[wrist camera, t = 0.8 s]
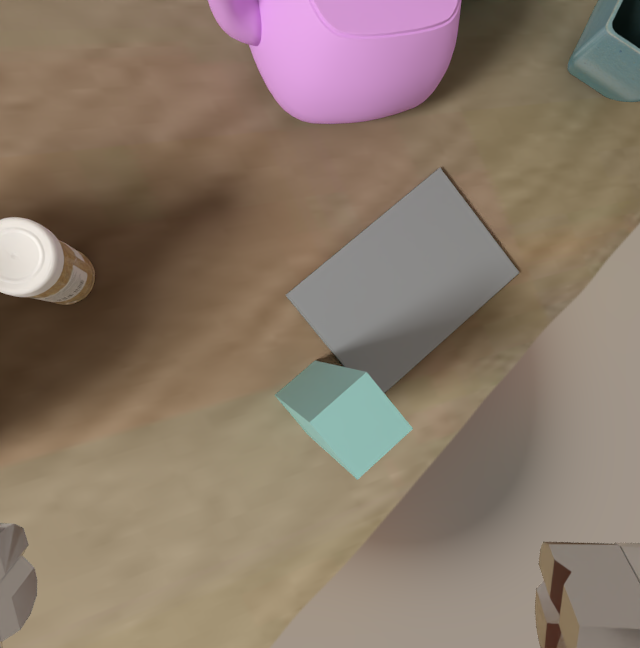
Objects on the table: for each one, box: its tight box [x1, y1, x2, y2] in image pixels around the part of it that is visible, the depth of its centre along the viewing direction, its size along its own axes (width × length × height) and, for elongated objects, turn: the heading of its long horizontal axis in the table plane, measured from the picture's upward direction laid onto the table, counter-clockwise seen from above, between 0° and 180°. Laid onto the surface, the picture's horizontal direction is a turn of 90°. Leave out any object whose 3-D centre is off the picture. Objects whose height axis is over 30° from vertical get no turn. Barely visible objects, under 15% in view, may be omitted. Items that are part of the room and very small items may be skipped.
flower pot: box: [568, 0, 640, 102], centre depth 53 cm, size 9×9×9 cm
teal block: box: [275, 361, 413, 480], centre depth 43 cm, size 4×4×16 cm
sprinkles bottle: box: [0, 217, 95, 305], centre depth 41 cm, size 5×5×13 cm
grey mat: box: [286, 168, 519, 393], centre depth 53 cm, size 18×12×1 cm, turn 130°
